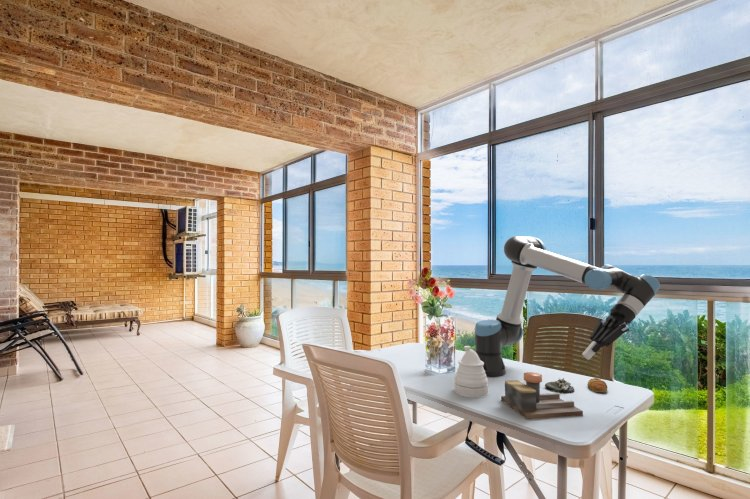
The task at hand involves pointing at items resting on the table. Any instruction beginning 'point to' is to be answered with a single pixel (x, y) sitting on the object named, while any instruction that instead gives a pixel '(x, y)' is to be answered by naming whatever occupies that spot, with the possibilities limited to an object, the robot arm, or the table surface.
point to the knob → (534, 383)
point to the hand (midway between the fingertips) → (585, 357)
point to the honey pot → (471, 376)
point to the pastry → (597, 385)
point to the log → (560, 386)
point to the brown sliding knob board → (526, 405)
